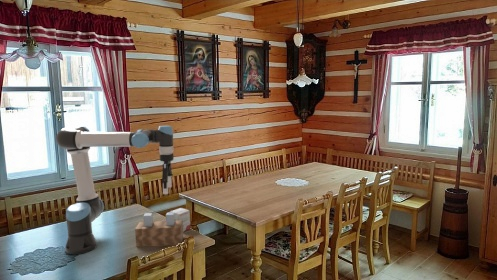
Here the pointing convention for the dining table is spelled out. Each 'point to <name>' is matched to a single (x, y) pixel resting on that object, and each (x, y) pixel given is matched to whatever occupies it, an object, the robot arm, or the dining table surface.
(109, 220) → the dining table surface
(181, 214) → the ink box
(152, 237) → the socket block
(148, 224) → the peg
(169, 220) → the peg
